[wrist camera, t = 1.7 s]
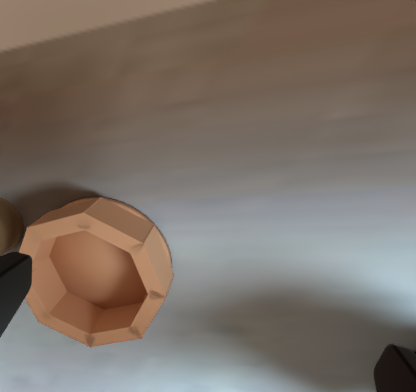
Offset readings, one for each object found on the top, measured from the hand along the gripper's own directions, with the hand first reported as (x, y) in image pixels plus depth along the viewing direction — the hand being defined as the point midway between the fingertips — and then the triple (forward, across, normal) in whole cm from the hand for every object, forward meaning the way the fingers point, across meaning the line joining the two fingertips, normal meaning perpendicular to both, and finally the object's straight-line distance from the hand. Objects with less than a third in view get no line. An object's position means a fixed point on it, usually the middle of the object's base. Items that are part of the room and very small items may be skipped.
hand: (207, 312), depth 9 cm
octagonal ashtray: (+13, +6, +9) cm, 17 cm away
